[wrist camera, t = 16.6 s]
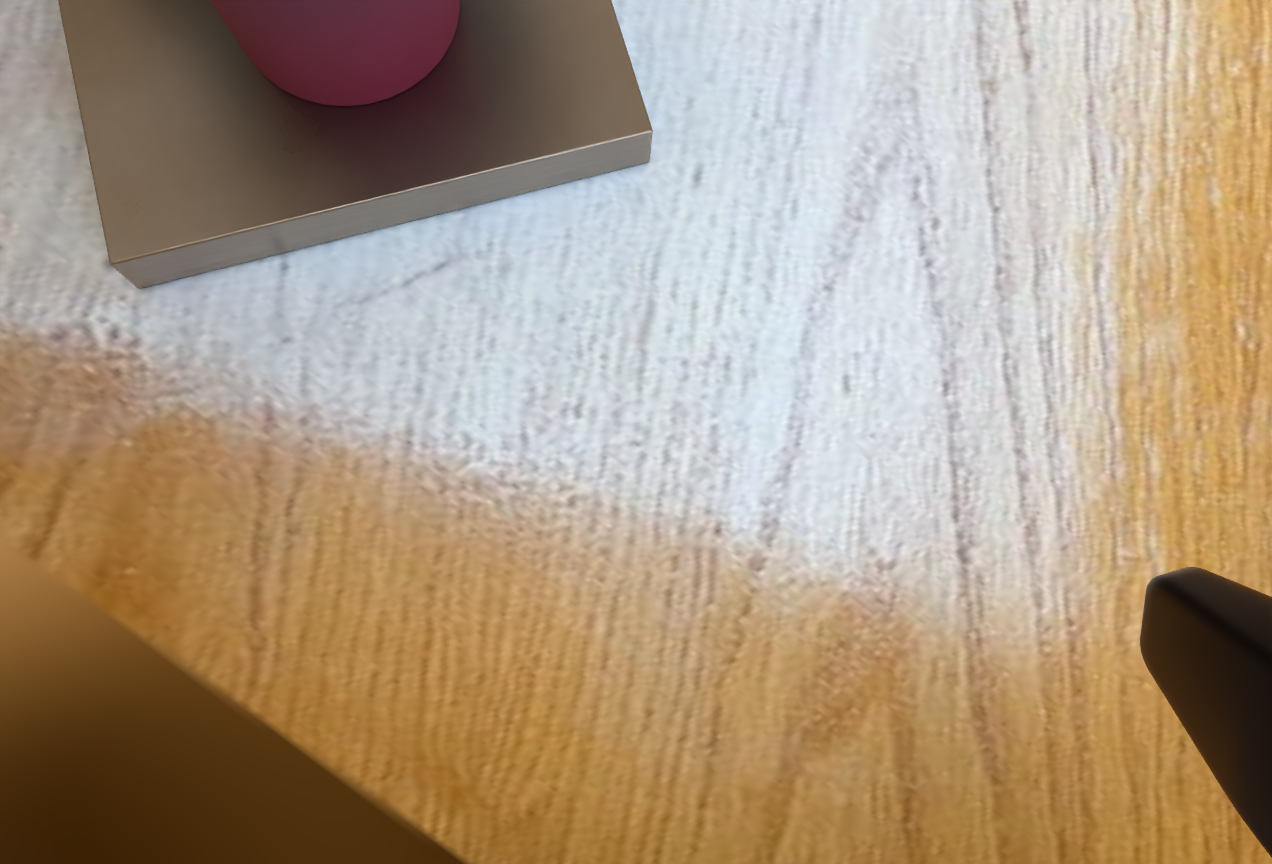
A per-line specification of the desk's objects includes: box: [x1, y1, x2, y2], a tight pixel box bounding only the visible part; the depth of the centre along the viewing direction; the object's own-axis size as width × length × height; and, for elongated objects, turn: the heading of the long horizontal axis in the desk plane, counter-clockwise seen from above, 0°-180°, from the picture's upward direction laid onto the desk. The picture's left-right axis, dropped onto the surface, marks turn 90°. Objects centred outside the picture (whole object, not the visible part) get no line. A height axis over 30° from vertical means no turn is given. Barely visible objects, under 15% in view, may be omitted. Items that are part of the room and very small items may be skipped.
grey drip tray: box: [58, 0, 653, 288], centre depth 25 cm, size 10×12×2 cm
